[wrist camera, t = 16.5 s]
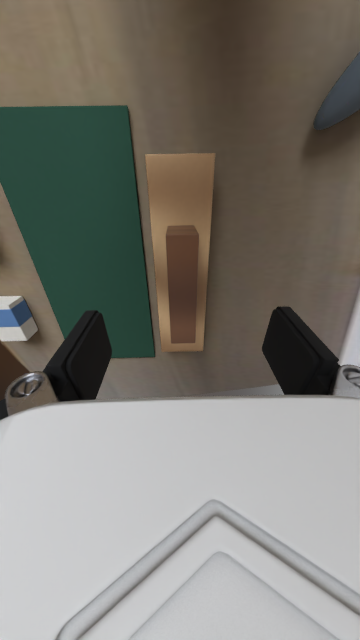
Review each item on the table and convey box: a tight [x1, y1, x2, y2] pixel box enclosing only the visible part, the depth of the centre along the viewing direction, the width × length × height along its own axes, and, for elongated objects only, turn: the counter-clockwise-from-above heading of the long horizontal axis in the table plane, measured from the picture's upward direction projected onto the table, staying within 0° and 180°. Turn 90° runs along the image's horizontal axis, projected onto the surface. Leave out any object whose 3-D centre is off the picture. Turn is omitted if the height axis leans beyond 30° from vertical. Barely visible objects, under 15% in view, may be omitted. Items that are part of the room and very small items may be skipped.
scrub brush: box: [145, 153, 215, 352], centre depth 20 cm, size 20×5×7 cm, turn 1°
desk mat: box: [0, 105, 155, 358], centre depth 22 cm, size 26×12×1 cm, turn 1°
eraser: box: [0, 296, 38, 341], centre depth 24 cm, size 5×3×2 cm, turn 1°
